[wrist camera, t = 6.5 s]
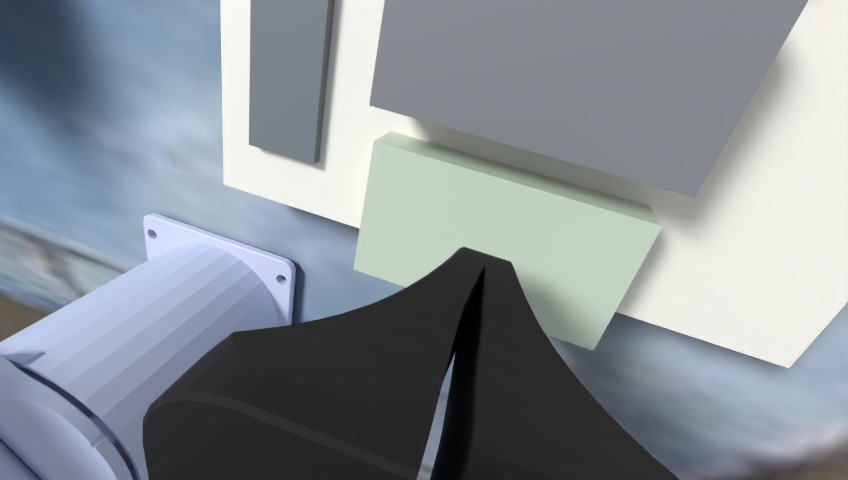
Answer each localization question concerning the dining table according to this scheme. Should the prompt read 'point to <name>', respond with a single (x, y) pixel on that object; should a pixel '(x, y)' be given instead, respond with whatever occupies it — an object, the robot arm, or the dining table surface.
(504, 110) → the key charcoal
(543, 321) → the key sage
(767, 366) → the dining table surface
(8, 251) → the dining table surface
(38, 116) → the dining table surface
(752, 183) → the white flat slab
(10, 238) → the dining table surface
